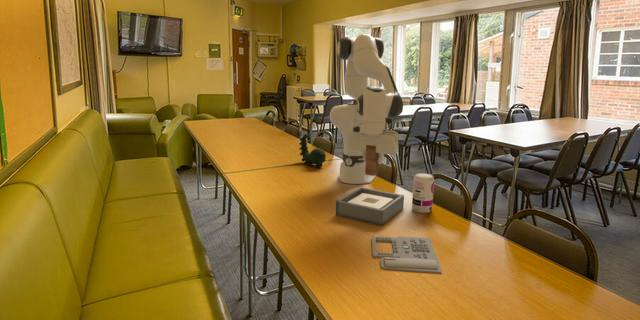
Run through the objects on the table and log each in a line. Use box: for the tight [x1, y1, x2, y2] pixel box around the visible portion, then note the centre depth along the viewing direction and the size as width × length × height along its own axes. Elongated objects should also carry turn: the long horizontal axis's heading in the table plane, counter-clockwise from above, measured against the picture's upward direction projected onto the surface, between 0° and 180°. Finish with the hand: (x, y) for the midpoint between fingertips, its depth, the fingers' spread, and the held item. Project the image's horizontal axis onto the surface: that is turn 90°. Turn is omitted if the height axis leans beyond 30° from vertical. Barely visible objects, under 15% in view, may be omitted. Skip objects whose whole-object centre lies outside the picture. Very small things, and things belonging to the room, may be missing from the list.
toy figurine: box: [298, 133, 327, 169], centre depth 239 cm, size 9×19×25 cm
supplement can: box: [411, 172, 435, 214], centre depth 167 cm, size 8×8×15 cm
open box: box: [335, 186, 405, 227], centre depth 166 cm, size 22×20×6 cm
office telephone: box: [371, 235, 443, 274], centre depth 130 cm, size 23×3×20 cm
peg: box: [365, 145, 380, 176], centre depth 161 cm, size 4×4×12 cm
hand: (372, 162), depth 161 cm, fingers closed on peg, 4 cm apart
